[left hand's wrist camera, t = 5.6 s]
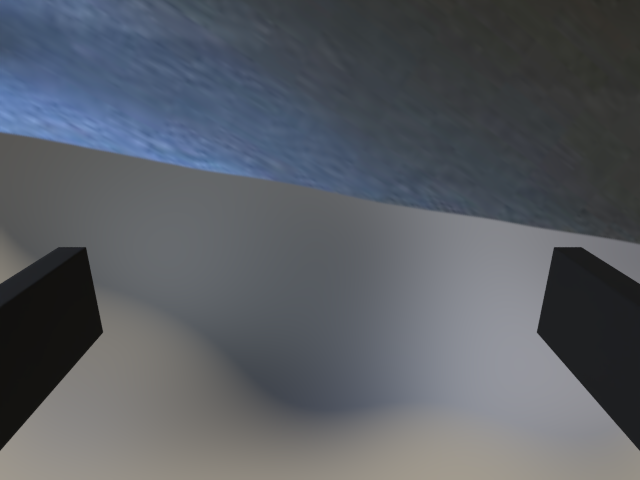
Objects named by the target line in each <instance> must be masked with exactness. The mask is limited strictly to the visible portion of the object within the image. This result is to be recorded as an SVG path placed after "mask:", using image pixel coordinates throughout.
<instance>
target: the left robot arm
mask: <svg viewBox="0 0 640 480" xmlns="http://www.w3.org/2000/svg"><path fill="white" fill-rule="evenodd" d="M102 333H103V330H102V325H101V320H100V315H99V310H98V305H97V300H96V295H95V290H94V285H93V280H92V275H91V270H90V265H89V260H88V255H87V250H86V247H59V248H57V249H55V250H54V251H52V252H50V253H49V254H47V255H46V256H44V257H43V258H41V259H39V260H38V261H36V262H35V263H33V264H31V265H30V266H28V267H27V268H25V269H23V270H22V271H20V272H19V273H17V274H15V275H14V276H12V277H11V278H9V279H7V280H6V281H4V282H3V283H1V284H0V450H1V449H2V448H3V447H4V446H5V445H6V443H7V442H8V441H9V440H10V439H11V438H12V436H13V435H14V434H15V433H16V432H17V431H18V430H19V428H20V427H21V426H22V425H23V424H24V423H25V422H26V420H27V419H28V418H29V417H30V416H31V415H32V414H33V412H34V411H35V410H36V409H37V408H38V407H39V405H40V404H41V403H42V402H43V401H44V400H45V399H46V397H47V396H48V395H49V394H50V393H51V392H52V391H53V389H54V388H55V387H56V386H57V385H58V384H59V382H60V381H61V380H62V379H63V378H64V377H65V376H66V374H67V373H68V372H69V371H70V370H71V369H72V368H73V366H74V365H75V364H76V363H77V362H78V361H79V359H80V358H81V357H82V356H83V355H84V354H85V353H86V351H87V350H88V349H89V348H90V347H91V346H92V345H93V343H94V342H95V341H96V340H97V339H98V338H99V336H100V335H101V334H102ZM537 333H538V334H539V335H540V336H541V338H542V339H543V340H544V341H545V342H546V343H547V345H548V346H549V347H550V348H551V349H552V350H553V351H554V353H555V354H556V355H557V356H558V357H559V358H560V359H561V361H562V362H563V363H564V364H565V365H566V366H567V367H568V369H569V370H570V371H571V372H572V373H573V374H574V376H575V377H576V378H577V379H578V380H579V381H580V382H581V384H582V385H583V386H584V387H585V388H586V389H587V391H588V392H589V393H590V394H591V395H592V396H593V397H594V399H595V400H596V401H597V402H598V403H599V404H600V405H601V407H602V408H603V409H604V410H605V411H606V412H607V414H608V415H609V416H610V417H611V418H612V419H613V420H614V422H615V423H616V424H617V425H618V426H619V427H620V428H621V430H622V431H623V432H624V433H625V434H626V435H627V436H628V438H629V439H630V440H631V441H632V442H633V443H634V445H635V446H636V447H637V448H638V449H639V450H640V284H639V283H637V282H636V281H634V280H632V279H631V278H629V277H628V276H626V275H625V274H623V273H621V272H620V271H618V270H617V269H615V268H613V267H612V266H610V265H609V264H607V263H605V262H604V261H602V260H601V259H599V258H598V257H596V256H594V255H593V254H591V253H590V252H588V251H586V250H585V249H583V248H581V247H554V251H553V256H552V260H551V265H550V270H549V275H548V280H547V285H546V290H545V295H544V300H543V305H542V310H541V315H540V320H539V325H538V330H537Z"/></svg>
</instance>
